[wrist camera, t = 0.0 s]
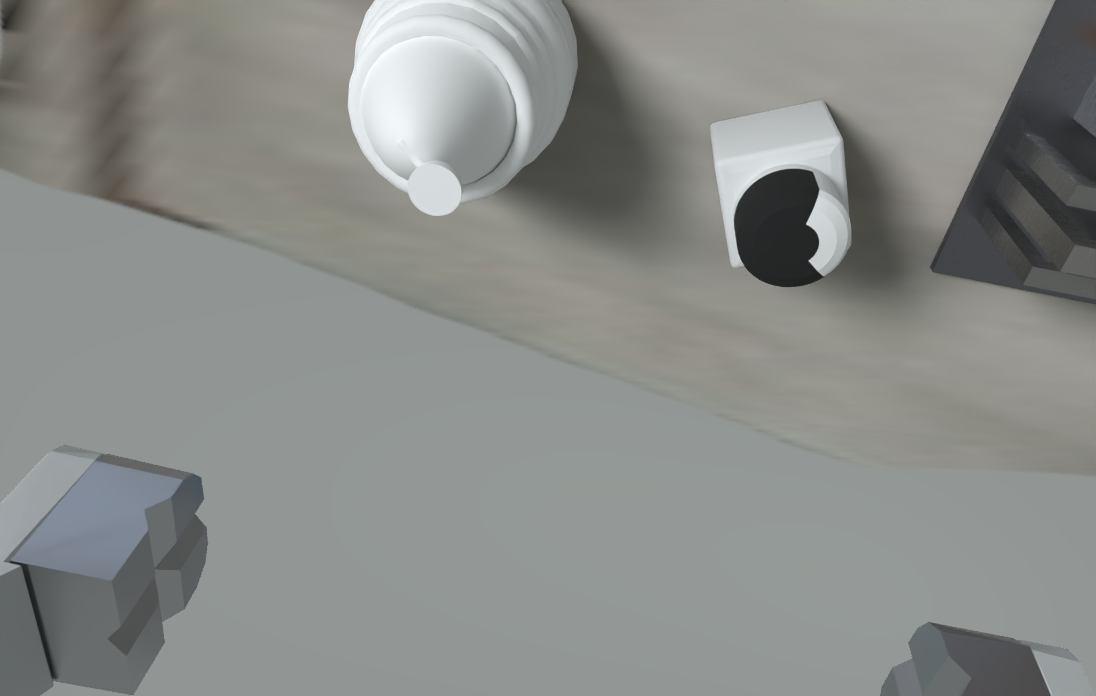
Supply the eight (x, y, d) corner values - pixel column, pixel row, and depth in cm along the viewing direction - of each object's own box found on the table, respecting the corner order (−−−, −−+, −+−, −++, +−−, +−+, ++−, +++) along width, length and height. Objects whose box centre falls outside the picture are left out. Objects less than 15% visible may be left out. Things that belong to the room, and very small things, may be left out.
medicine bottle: (725, 222, 58) (736, 311, 48) (708, 121, 55) (717, 196, 45) (833, 202, 57) (869, 290, 47) (824, 97, 53) (860, 169, 43)
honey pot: (619, 70, 54) (601, 180, 39) (474, 190, 59) (409, 326, 44) (480, -105, 49) (398, -57, 34) (337, 42, 55) (213, 138, 40)
